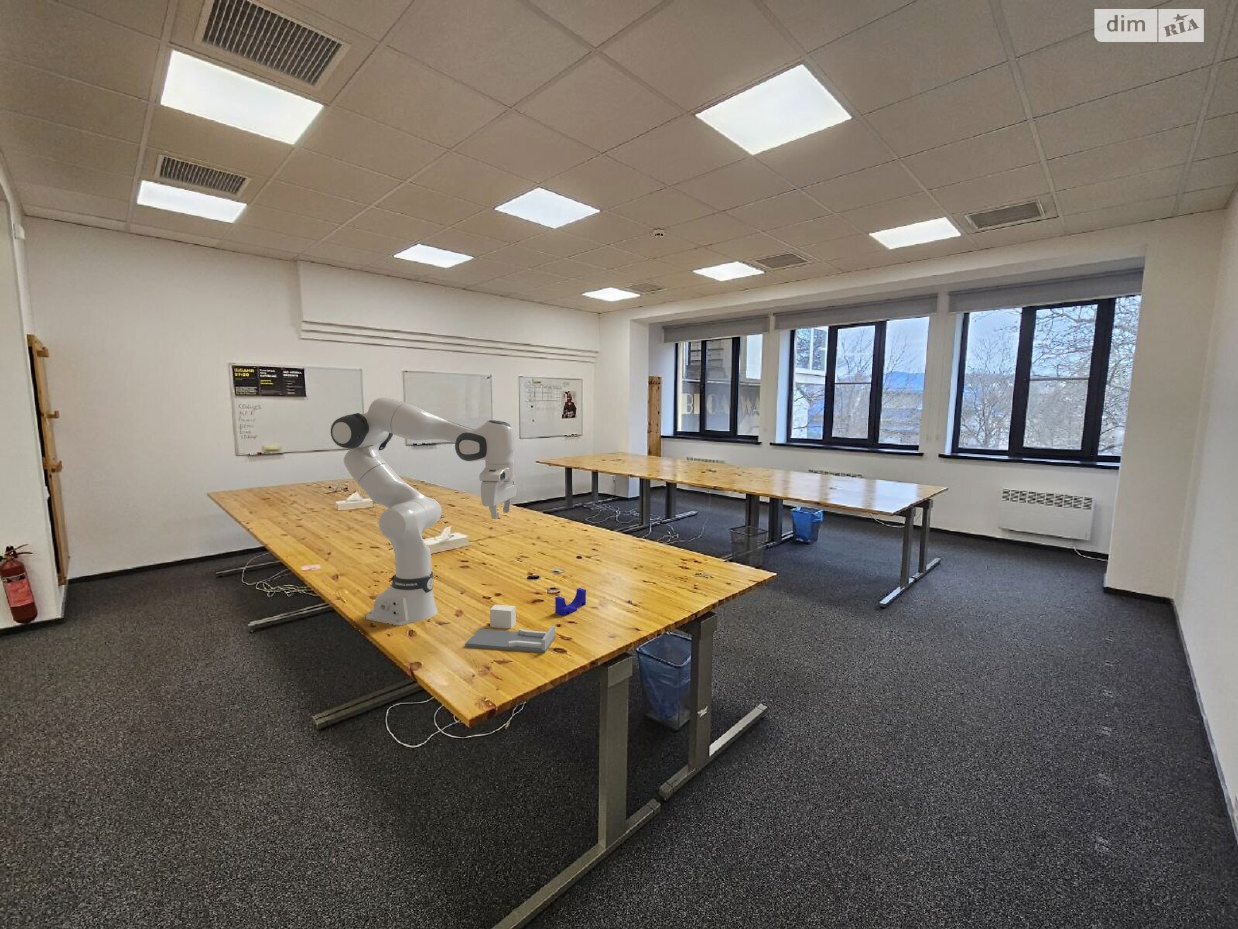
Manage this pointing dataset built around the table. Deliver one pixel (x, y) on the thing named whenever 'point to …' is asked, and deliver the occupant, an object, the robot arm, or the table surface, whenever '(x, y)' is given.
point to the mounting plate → (512, 640)
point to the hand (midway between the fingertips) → (500, 515)
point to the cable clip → (572, 607)
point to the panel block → (502, 616)
